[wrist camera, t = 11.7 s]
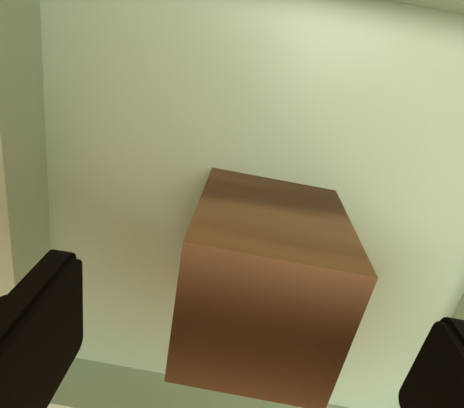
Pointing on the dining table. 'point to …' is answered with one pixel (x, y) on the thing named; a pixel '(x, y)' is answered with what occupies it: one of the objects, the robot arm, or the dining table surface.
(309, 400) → the walnut block
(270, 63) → the pale green bin
